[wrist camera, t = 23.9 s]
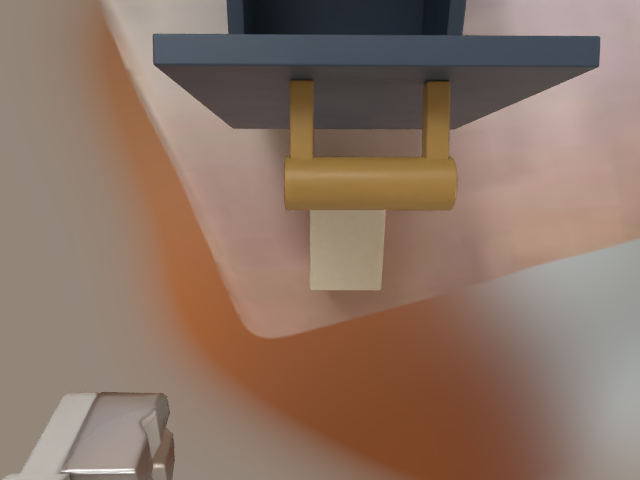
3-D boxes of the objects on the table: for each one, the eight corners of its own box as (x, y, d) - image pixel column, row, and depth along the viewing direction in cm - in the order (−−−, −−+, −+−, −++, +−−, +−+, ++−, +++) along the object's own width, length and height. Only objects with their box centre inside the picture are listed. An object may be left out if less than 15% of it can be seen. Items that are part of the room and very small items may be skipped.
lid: (151, 33, 15) (156, 212, 15) (601, 35, 15) (594, 212, 16) (232, 113, 30) (233, 201, 31) (455, 113, 31) (453, 202, 31)
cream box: (309, 175, 41) (309, 201, 36) (379, 175, 41) (386, 201, 37) (310, 258, 43) (309, 290, 39) (374, 258, 44) (381, 290, 39)
